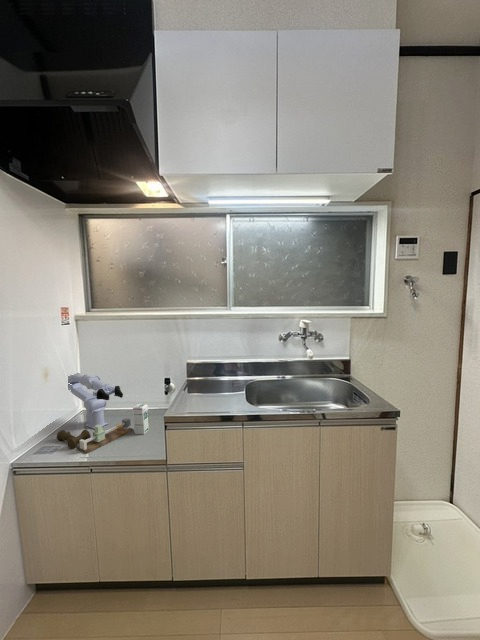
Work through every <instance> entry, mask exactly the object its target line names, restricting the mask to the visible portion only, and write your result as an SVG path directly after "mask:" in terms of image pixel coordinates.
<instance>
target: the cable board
mask: <svg viewBox="0 0 480 640" xmlns="http://www.w3.org/2000/svg"><path fill="white" fill-rule="evenodd" d="M132 432H134V428H132V427H129V428H128V429H125V428H124V427H123V426H121V427H120V428H117V429H115V430H113V431H110V432H108V433H106V434H105V439H104V440H102V441H100V442H96V441H93V440H91V441H89V442H87V449H86V450H83V449H81V448H80V445H79V446H76V447H75V449H76V450H77V451H79V452H81V453H83V454H89V453H91V452H93V451H95V450H97V449H99V448H101V447H104V446H105V445H107V444H109V443H111V442H114V441H115V440H117V439H119V438H122V437H123V436H126V435H127V434H129V433H132Z"/></svg>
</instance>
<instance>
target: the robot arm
mask: <svg viewBox="0 0 480 640" xmlns="http://www.w3.org/2000/svg"><path fill="white" fill-rule="evenodd" d="M73 374H74V375H72V374H69V375H70V376H68V375H67V376H68V383H70V384H72V385H70V384H68V391H70V390H71V391H70V393H71V394H72V395H74V396H75V397H76V398H77V399H80V400H81V401H82V402H83V407H84V408H85V410H86V414H85V417H86V418H85V419H86V421H85V422H86V424H84V425H85V427H88V428H91V429H94V430H95V427H94V426H96V425H98V424H99V425H102V427H104V426H107V425H108V422H105V412H104V411H105V408H106V407H107V404H108V403H107V401H110V395H113V394H114V397H118V398H120V399H121V398H123V397H124V393H123V392H122V390H121V387H120V386H119V385H116V386H112V385H110V383H104V382H103V381H102V380H101V378H100V377H99V376H98V375H95V376H92V375H88V374H87V373H85V374H83V375H82V373H80V372H76V373H73ZM83 386H85V387H86V389H87V390H86V389H84V388H83ZM88 390H93V391H92V393H91V392H90V391H88Z"/></svg>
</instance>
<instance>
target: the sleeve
mask: <svg viewBox="0 0 480 640" xmlns="http://www.w3.org/2000/svg"><path fill="white" fill-rule="evenodd" d="M94 427H95V429H94V431H93V432H92V437H93V436H95V435H96V438H95V439H93V441H96V442H100V441H102V440H104V439H105V431H106V430H104V428H103V426H102V425H99V424H98V425H96V426H94Z"/></svg>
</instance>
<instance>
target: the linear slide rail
mask: <svg viewBox="0 0 480 640" xmlns="http://www.w3.org/2000/svg"><path fill="white" fill-rule="evenodd" d="M131 421H132V419H131V418H128V417H125V418H123V419H122V420H121V423H118V424H116V425H115V426H113V427H110V428H109V429H106V430H104V431H105V434H107V433H109V432H111V431H113V430H115V429H117V428H120V427H122V426H123V427H124V428H125V429H128V428H130V426H132V422H131ZM95 438H96V435H95V436H93V435H92V436H91V438H89V439H86V440H83V439H81V440H79V441H80V443H79V446H80V448H81V449H83V450H86V449H87V442H89V441H91V440H93V439H95Z"/></svg>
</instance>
